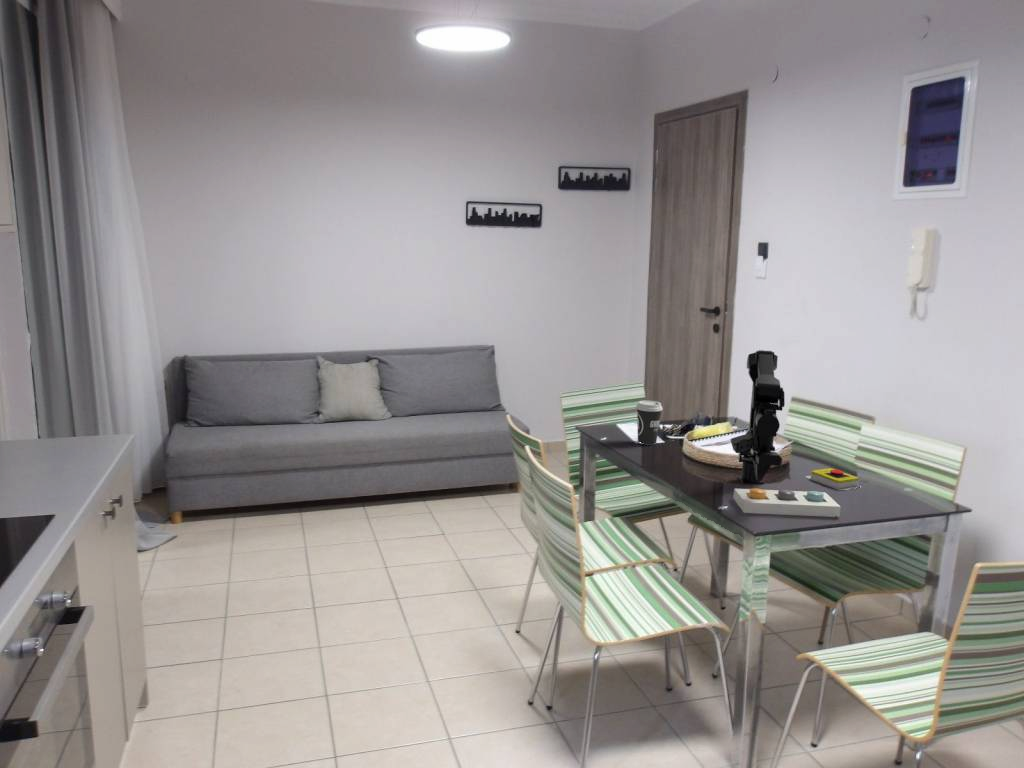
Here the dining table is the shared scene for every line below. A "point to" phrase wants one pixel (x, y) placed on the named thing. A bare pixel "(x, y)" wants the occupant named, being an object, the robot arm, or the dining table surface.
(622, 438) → the dining table surface
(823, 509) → the button panel
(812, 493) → the teal button
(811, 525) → the dining table surface
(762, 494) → the orange button
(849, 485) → the emergency button
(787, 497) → the charcoal button
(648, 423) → the coffee cup
